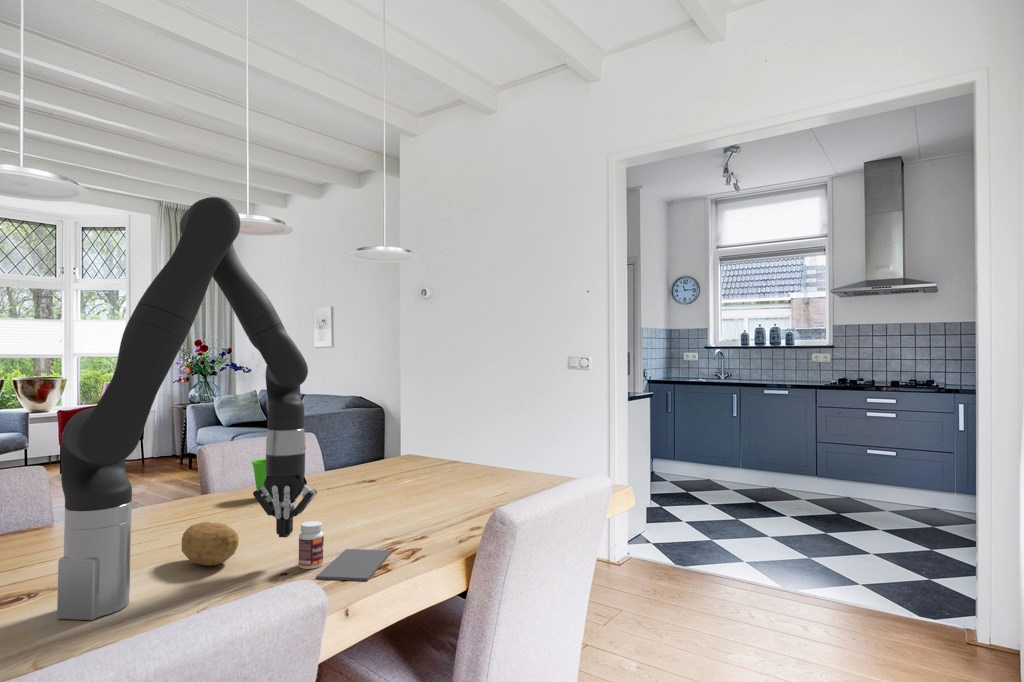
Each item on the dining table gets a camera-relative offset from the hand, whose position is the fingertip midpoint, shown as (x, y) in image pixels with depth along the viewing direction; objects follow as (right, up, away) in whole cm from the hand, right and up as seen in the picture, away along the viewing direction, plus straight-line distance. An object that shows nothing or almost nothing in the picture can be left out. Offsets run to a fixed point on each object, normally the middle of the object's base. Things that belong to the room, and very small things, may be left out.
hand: (284, 536), depth 120 cm
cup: (-26, -7, +55) cm, 61 cm away
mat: (+15, -6, -1) cm, 16 cm away
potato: (-15, -6, 0) cm, 16 cm away
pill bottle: (+6, -6, -1) cm, 8 cm away
